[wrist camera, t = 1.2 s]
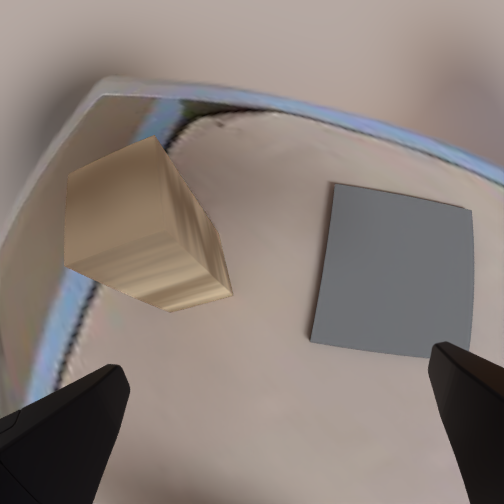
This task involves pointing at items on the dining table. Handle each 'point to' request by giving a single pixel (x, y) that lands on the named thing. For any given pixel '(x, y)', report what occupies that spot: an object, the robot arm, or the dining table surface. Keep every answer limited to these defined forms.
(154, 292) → the beech block
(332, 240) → the charcoal mat
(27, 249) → the dining table surface
